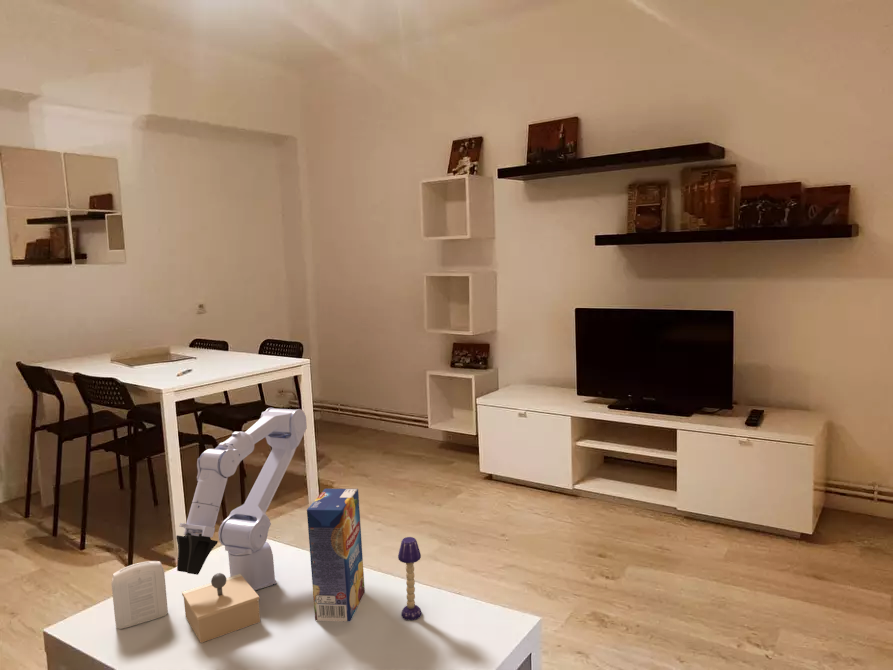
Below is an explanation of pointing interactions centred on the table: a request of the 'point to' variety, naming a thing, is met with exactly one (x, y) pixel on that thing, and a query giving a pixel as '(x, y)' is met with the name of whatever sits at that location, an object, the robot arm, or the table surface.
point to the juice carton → (336, 554)
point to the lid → (219, 595)
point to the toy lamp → (410, 576)
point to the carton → (223, 620)
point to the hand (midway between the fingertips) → (187, 572)
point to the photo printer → (139, 593)
